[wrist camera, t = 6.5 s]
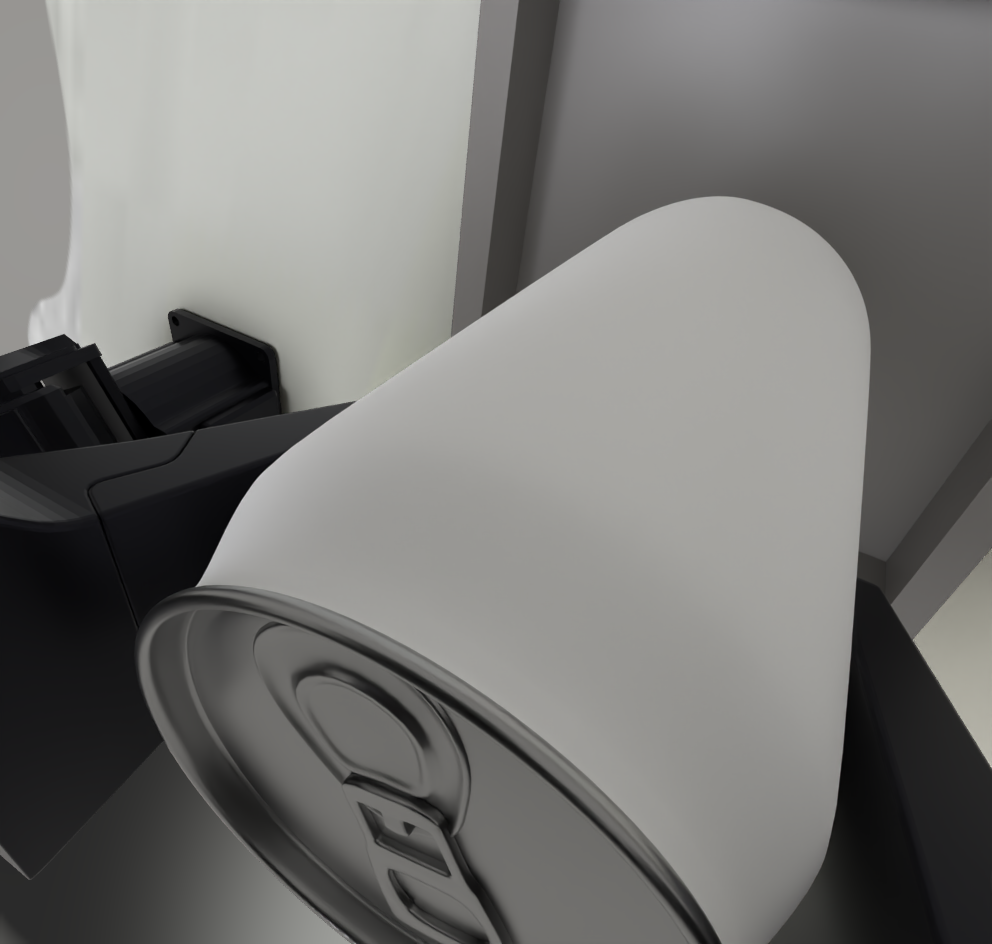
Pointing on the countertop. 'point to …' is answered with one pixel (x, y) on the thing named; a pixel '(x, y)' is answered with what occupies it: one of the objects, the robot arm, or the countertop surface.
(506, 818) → the can
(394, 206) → the countertop surface
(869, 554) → the tray
